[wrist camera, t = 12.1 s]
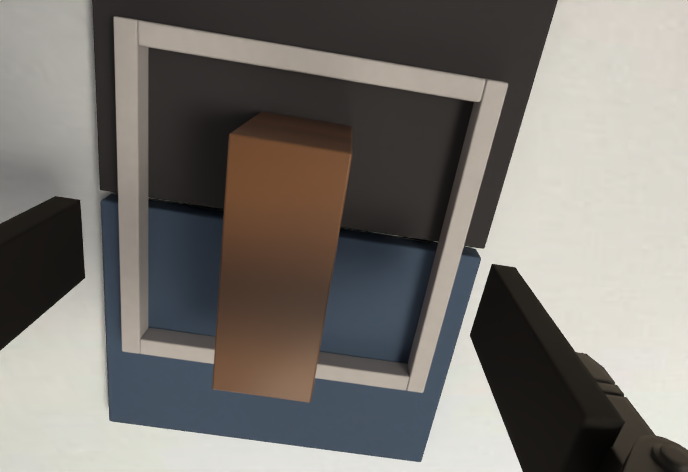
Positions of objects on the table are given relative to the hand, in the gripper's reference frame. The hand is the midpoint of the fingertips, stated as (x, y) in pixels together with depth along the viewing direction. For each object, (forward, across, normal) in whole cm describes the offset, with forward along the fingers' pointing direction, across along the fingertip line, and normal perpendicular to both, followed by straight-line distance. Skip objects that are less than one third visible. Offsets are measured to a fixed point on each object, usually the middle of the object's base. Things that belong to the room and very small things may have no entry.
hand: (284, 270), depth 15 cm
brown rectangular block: (+4, 0, 0) cm, 5 cm away
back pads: (+6, 0, 0) cm, 6 cm away
